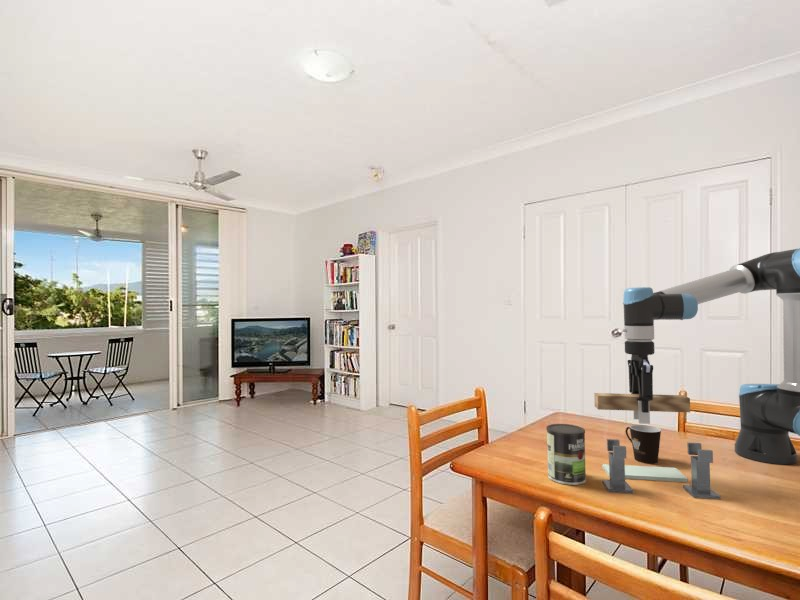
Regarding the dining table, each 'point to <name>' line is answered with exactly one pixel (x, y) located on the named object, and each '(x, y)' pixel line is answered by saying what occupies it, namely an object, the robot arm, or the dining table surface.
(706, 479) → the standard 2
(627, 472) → the mat
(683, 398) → the rail
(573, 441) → the coffee can
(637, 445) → the coffee mug
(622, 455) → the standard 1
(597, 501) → the dining table surface
